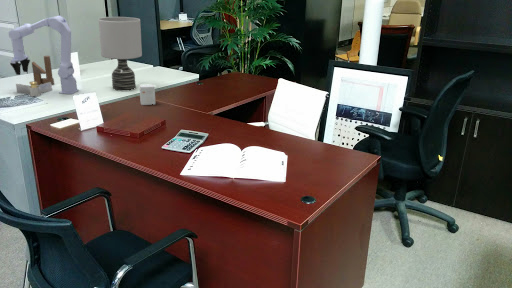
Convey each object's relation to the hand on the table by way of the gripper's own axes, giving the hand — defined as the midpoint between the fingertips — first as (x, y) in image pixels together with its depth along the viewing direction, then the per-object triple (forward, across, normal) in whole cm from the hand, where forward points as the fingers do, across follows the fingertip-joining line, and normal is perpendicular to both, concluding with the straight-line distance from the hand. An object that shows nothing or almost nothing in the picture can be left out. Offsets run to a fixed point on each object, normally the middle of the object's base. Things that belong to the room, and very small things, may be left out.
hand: (21, 73), depth 262 cm
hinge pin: (+10, +8, +11) cm, 17 cm away
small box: (+11, +10, +78) cm, 79 cm away
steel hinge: (+10, +3, +7) cm, 13 cm away
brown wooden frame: (+11, -16, +4) cm, 20 cm away
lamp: (+11, -19, +54) cm, 58 cm away
